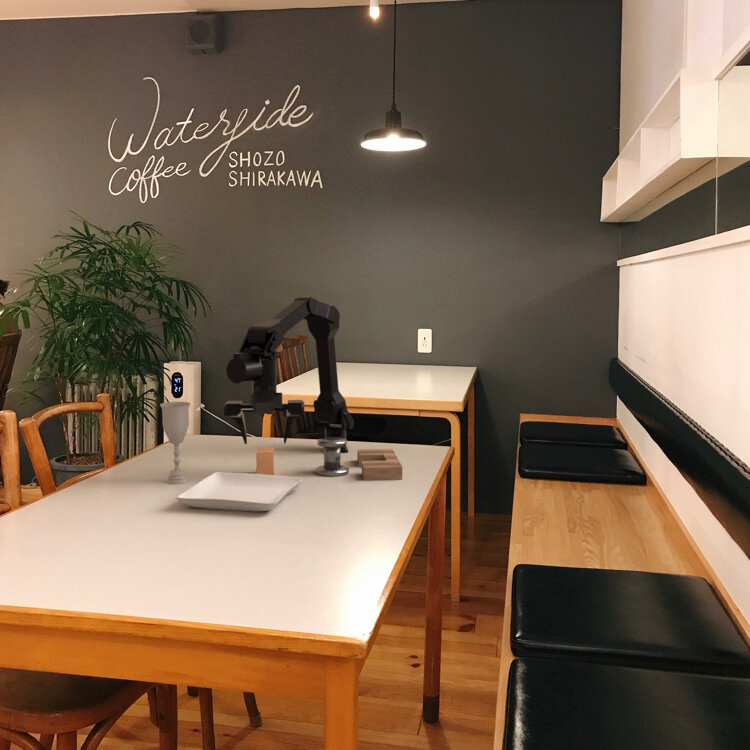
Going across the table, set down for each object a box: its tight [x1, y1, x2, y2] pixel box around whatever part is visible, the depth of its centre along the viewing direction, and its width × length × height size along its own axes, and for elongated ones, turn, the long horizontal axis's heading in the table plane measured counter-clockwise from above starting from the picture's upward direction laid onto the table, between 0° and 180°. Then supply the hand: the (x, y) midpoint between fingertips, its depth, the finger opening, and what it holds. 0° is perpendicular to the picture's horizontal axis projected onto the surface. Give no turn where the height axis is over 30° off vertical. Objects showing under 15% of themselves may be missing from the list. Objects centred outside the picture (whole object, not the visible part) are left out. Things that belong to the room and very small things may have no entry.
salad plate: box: [176, 471, 304, 513], centre depth 174 cm, size 21×21×3 cm
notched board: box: [356, 448, 403, 481], centre depth 200 cm, size 20×9×3 cm, turn 6°
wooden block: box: [255, 446, 275, 475], centre depth 196 cm, size 5×4×6 cm
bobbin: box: [315, 437, 350, 478], centre depth 197 cm, size 8×8×8 cm
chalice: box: [159, 401, 191, 485], centre depth 188 cm, size 7×7×18 cm
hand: (265, 443), depth 195 cm, fingers open, 9 cm apart
